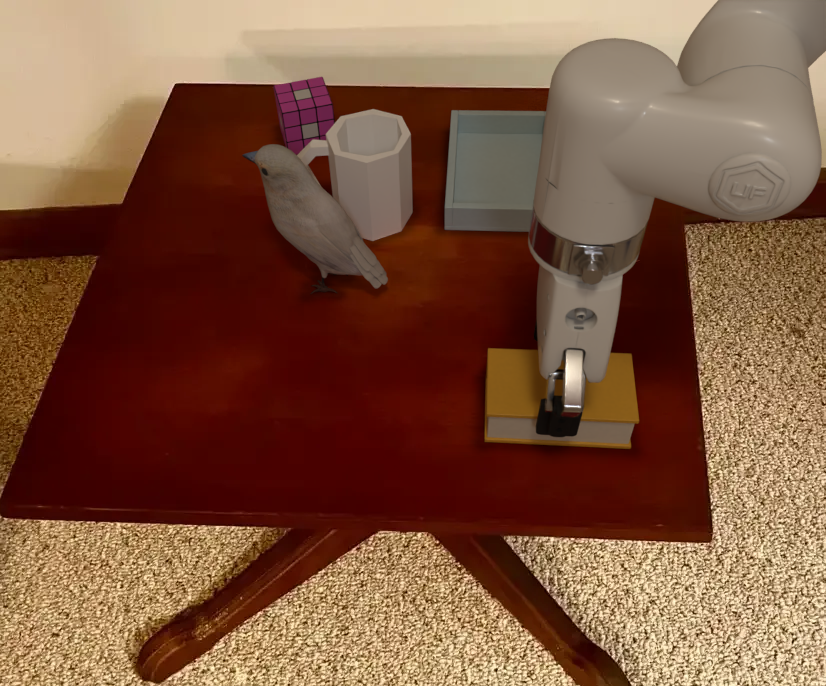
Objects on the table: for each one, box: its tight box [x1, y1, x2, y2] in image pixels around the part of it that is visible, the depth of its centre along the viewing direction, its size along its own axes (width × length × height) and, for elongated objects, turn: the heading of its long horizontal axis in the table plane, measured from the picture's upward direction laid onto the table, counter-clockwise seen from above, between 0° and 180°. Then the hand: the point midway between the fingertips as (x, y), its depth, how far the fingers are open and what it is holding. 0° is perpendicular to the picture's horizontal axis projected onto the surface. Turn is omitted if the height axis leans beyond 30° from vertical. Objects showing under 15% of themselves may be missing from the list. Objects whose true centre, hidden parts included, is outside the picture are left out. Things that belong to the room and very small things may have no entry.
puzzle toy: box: [273, 76, 336, 155], centre depth 99 cm, size 6×6×6 cm
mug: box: [297, 108, 414, 242], centre depth 88 cm, size 12×9×10 cm
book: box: [483, 347, 640, 450], centre depth 73 cm, size 12×7×4 cm, turn 84°
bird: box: [241, 143, 389, 295], centre depth 81 cm, size 5×14×15 cm, turn 67°
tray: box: [443, 109, 546, 233], centre depth 93 cm, size 11×17×3 cm
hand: (553, 384), depth 72 cm, fingers open, 9 cm apart
